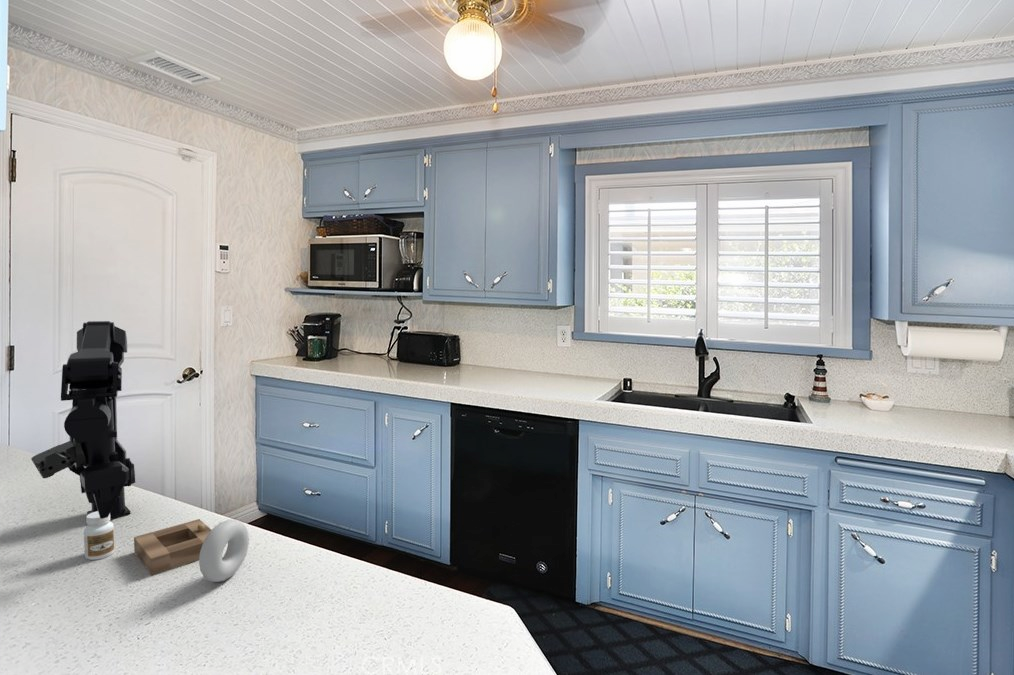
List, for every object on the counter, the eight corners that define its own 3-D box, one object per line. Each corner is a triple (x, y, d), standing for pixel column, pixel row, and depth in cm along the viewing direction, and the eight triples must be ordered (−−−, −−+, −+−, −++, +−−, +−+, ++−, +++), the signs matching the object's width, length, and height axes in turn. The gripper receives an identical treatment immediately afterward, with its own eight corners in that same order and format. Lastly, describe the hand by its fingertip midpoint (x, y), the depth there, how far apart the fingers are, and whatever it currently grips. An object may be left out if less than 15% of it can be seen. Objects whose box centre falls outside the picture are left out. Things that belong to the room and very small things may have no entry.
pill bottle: (89, 563, 95) (87, 521, 94) (81, 555, 98) (79, 514, 97) (118, 553, 98) (116, 513, 98) (110, 546, 101) (108, 506, 100)
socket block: (134, 552, 99) (133, 531, 99) (199, 533, 107) (199, 514, 107) (151, 575, 92) (150, 553, 91) (220, 552, 100) (219, 532, 99)
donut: (213, 595, 86) (211, 536, 85) (194, 592, 87) (192, 533, 86) (254, 564, 96) (252, 511, 95) (237, 562, 97) (235, 508, 96)
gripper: (26, 423, 96) (32, 507, 98) (43, 447, 83) (48, 542, 85) (103, 413, 104) (106, 490, 106) (128, 433, 92) (132, 521, 93)
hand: (98, 509), depth 97 cm, fingers open, 9 cm apart
